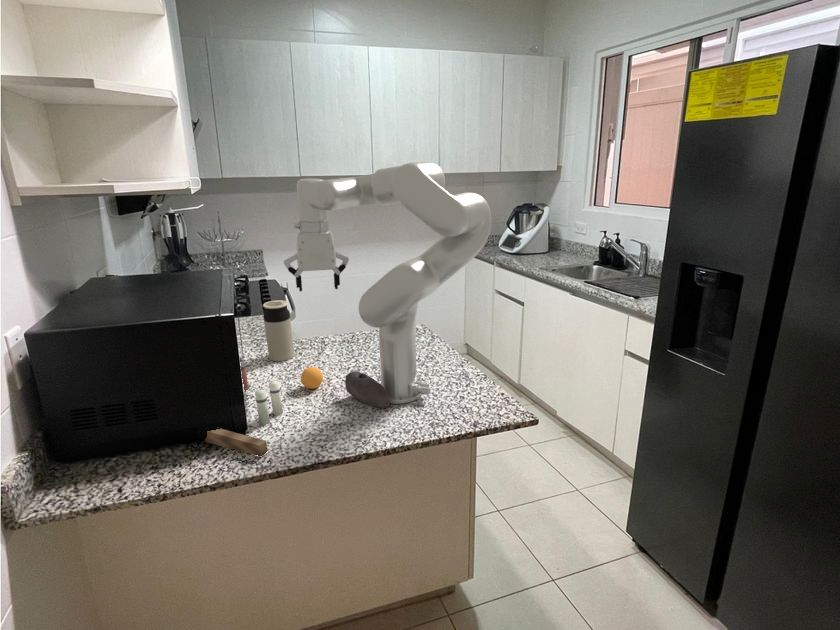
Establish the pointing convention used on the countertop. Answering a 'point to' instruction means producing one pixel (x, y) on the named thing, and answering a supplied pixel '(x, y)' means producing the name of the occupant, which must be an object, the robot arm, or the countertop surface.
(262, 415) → the sage pin
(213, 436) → the wall
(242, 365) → the lighter
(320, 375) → the ball
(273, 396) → the ivory pin
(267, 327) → the travel mug
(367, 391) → the perforated stone tool
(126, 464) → the countertop surface
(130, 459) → the countertop surface
